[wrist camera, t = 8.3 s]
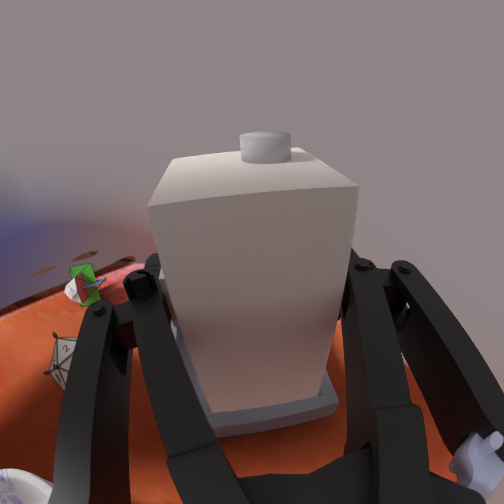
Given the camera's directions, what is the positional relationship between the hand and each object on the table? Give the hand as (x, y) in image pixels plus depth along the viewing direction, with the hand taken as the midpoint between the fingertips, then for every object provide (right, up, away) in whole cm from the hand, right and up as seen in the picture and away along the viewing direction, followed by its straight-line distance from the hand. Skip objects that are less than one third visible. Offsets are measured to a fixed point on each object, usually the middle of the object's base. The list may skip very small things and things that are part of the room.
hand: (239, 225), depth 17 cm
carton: (+1, -9, -1) cm, 9 cm away
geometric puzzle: (-26, -10, +23) cm, 36 cm away
